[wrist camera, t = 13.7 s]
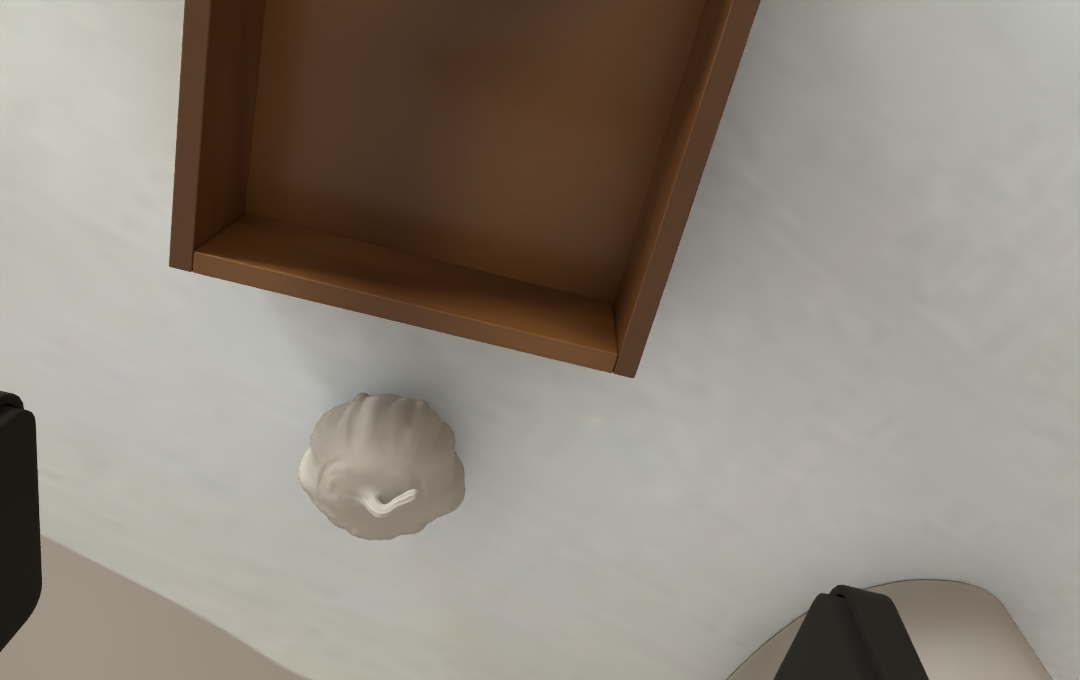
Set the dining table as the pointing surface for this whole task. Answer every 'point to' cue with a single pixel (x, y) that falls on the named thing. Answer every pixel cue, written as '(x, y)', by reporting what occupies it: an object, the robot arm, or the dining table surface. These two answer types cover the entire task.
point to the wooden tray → (454, 158)
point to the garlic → (382, 467)
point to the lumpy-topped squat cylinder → (936, 635)
